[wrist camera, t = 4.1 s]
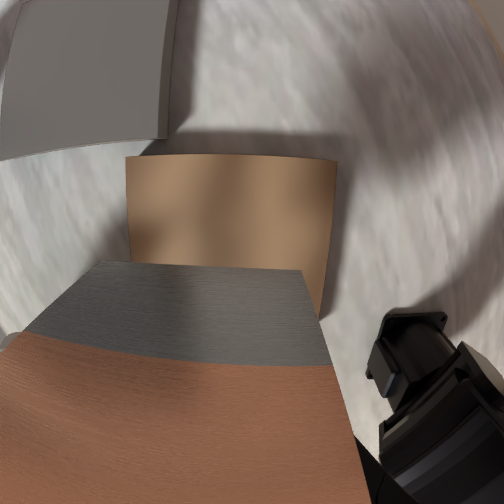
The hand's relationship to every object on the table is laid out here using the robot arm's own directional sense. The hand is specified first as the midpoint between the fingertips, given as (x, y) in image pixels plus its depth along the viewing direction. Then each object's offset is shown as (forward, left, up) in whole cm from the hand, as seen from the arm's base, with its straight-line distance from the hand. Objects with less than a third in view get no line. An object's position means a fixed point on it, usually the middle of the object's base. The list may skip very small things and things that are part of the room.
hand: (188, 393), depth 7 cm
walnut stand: (0, 0, -12) cm, 13 cm away
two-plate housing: (0, 0, -2) cm, 2 cm away
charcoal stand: (+11, -14, -12) cm, 22 cm away
